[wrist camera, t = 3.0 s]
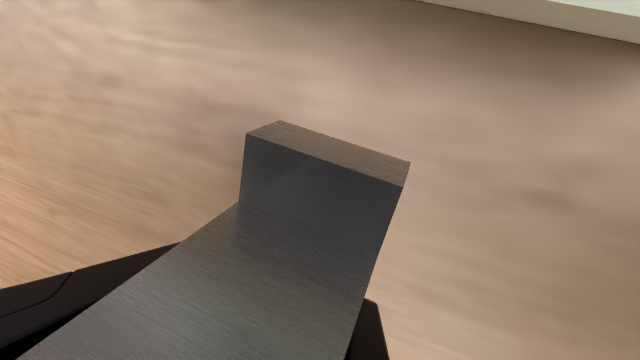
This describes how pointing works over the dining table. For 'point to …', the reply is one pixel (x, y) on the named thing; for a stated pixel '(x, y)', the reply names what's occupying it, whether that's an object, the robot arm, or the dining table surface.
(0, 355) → the robot arm
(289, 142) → the grey l-shaped step block
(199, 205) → the dining table surface
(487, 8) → the pale green open box
